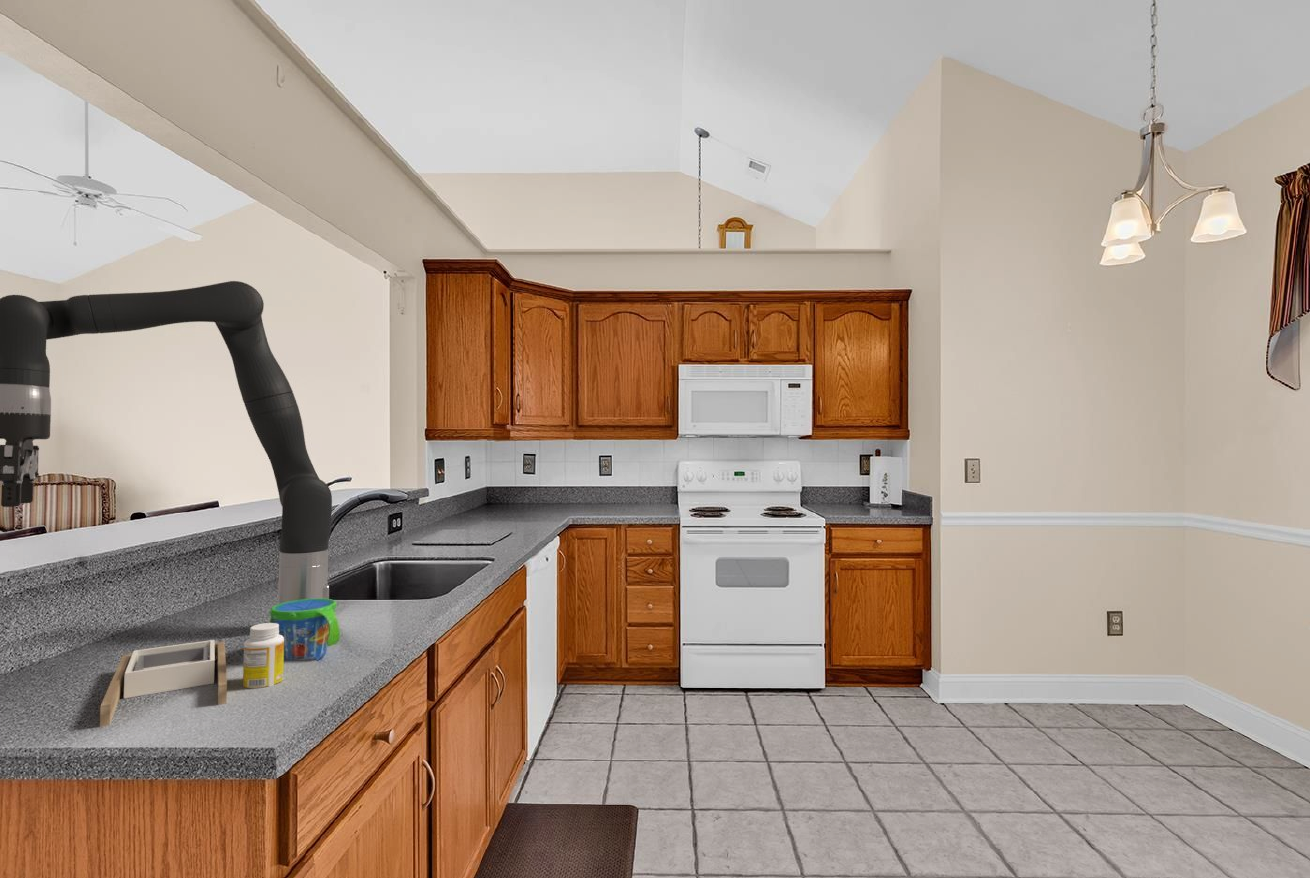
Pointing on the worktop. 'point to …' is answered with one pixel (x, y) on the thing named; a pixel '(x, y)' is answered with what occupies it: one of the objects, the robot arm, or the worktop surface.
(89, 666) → the worktop surface
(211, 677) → the box
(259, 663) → the supplement bottle
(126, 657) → the bay
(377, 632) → the worktop surface
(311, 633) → the snack cup
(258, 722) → the worktop surface
